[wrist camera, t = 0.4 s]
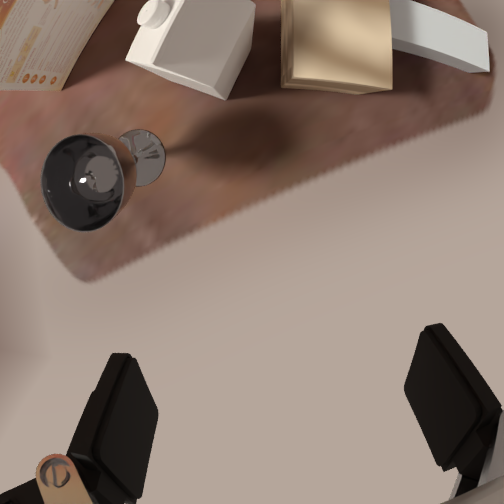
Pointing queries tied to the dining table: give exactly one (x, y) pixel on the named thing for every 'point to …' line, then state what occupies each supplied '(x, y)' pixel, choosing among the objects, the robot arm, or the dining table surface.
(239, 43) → the milk carton
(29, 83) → the coffeecake box
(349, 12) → the beige wooden bench
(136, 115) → the dining table surface
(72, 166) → the wine glass
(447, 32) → the white rectangular block
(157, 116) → the dining table surface
